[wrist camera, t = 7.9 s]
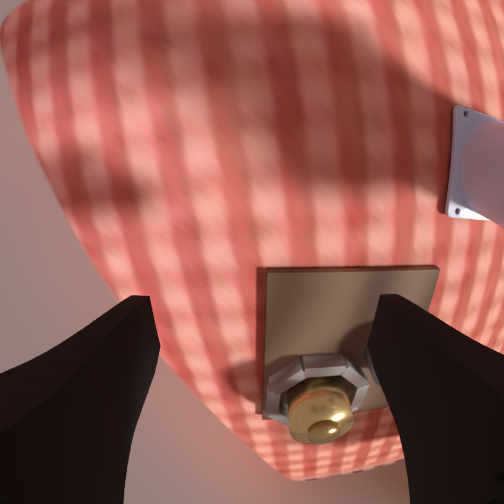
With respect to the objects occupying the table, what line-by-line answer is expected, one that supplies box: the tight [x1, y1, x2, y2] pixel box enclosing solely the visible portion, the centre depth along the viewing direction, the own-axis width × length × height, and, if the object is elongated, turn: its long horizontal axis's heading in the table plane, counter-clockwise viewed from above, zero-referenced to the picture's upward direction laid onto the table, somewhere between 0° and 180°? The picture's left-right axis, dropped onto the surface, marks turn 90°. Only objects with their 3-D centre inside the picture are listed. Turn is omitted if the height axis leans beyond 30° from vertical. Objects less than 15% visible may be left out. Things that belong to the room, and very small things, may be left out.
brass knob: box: [286, 375, 354, 444], centre depth 21 cm, size 5×5×5 cm
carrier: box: [262, 266, 440, 427], centre depth 21 cm, size 13×16×4 cm
